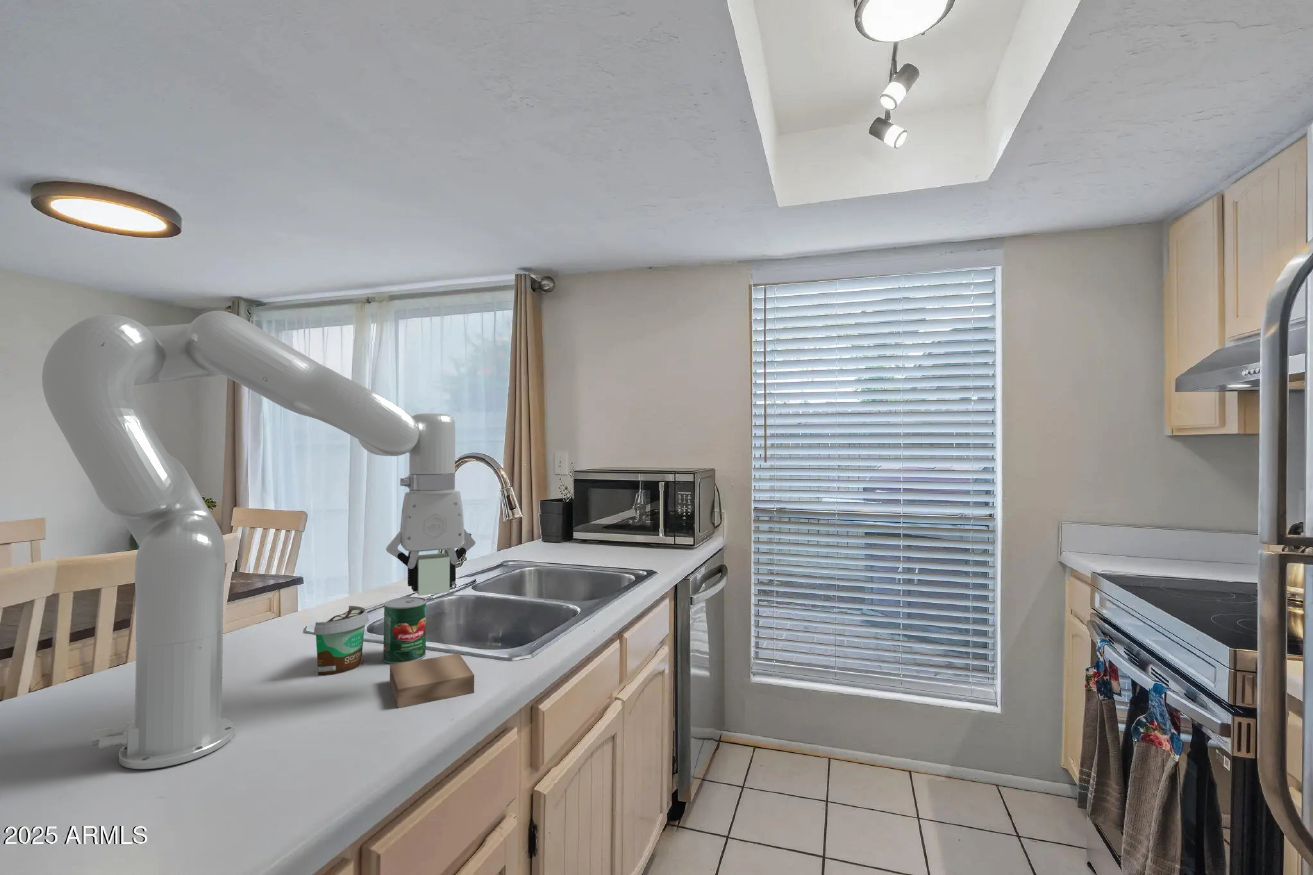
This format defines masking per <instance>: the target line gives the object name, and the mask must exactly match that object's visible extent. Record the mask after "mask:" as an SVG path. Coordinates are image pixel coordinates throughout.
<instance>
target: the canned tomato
mask: <svg viewBox="0 0 1313 875" xmlns="http://www.w3.org/2000/svg"><path fill="white" fill-rule="evenodd" d="M427 600H428V599H426V598H425V597H423V596H421V597H420V596H404V597H397V598H393V599H390V600H386V601H385V602H384V603H383V608H384V611H383V650H382V651H383V652H382V653H383V657H382V660H383V662H384V663H386V664H389V665H393V664H399V663H405V662H411V661H417V660H423V658H425V657H426V656H427V652H426V651H427V602H428V601H427Z"/></svg>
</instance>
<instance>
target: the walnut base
mask: <svg viewBox="0 0 1313 875" xmlns="http://www.w3.org/2000/svg"><path fill="white" fill-rule="evenodd" d="M389 683H390V687H391V690H392V694H393V696H394V700H395V703H396V705H397V709H401V708H405V707H410V706H415V705H420V704H424V703H425V704H426V703H430V702H435V701H439V700H444V699H449V698H453V697H454V698H455V697H460V696H465V695H468V694H470V695H471V694H475V674H474V673H473V671H472V670H471V668H470V667H469V665H468V664H467V663H466V661H465V660H464V658H463V656H462V655H461V653H454V654H449V655H442V656H435V657H430V658H425V659H423V658H422V659H421V660H417V661H411V662H405V663H399V664H389Z"/></svg>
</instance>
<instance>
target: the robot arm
mask: <svg viewBox="0 0 1313 875" xmlns="http://www.w3.org/2000/svg"><path fill="white" fill-rule="evenodd" d="M217 376H219V377H220V376H224V377H226V378H228V379H229V380H232V381H234V382H236V383H237V384H239V385H241V386H243V387H245V388H247V389H249V390H250V391H252V392H254V393H256V394H258V395H259V396H262V397H263V398H264V399H265V398H266V399H268V400H269V401H271V402H273V403H275V404H276V405H277V406H280V407H281V408H284V409H285V410H288V411H291V412H293V413H295V414H298V415H301V416H304V417H307V418H308V417H309V418H311V419H315V420H318V421H321V422H323V423H325V424H327V425H330V426H332V427H334V428H336V429H338V430H340V431H343V432H344V433H347V434H348V435H349V436H352V437H353V438H355V439H357V441H358V443H359V444H360V445H361V447H362V448H363V449H364V450H365V451H367V452H368V453H370V454H373V455H376V456H382V457H383V456H385V457H399V456H403V455H405V454H407V453H408V455H409V456H408V457H409V460H408V461H409V464H408V466H409V467H408V469H409V470H408V473H409V474H408V475H407V477H404V478H403V477H402V478H400V479H399V486H400V487H405V488H406V487H407V488H408V491H407V492H405V493H404V497H403V502H402V507H401V514H400V515H401V518H400V530H399V532H397V534H395V536H394V538H393V539H392V540H391V541H390V542H389V543H388V545H387V546H386V547H385V550H386V553H388V554H390V555H392V556H393V557H394V558H396V559H398V560H399V561H400V562H401V563H402V564H404V566H406V567H407V587H411V590H412V592H414V593H415V592H417V591H418V568H417V564H416V561H417V558H418V555H420V552H430V551H431V552H432V551H443V550H444V552H445V554H446V555H447V556H449V557H450V589H451V588H453V582H456V573H457V571H456V568H457V567H456V565H457V564H458V563H459V561H460V560H461V558H463V556H464V555H465V554H466V552H468V551H469V550H471V548H473V547H474V546H475V544H476V541H475V540H474V538H473V537H472V536H471V535H470V533H468V531H467V530H466V529H465V526H464V525H465V524H464V523H465V522H464V510H463V502H462V496H461V491H460V490H456V421H455V419H454V417H453V416H451V415H450V414H446V413H416V414H413V415H411V414H410V413H409V412H407V411H406V410H404V409H403V408H401V407H399V405H396V404H395V403H393V402H391V401H390V400H388V399H387V398H384V397H383V396H381V395H380V394H378V393H376V392H374V391H373V390H371V389H370V388H368V387H366V386H363V385H362V384H360V383H357V382H356V381H354V380H351V379H350V378H348V377H346V376H344V375H342V374H340V373H339V372H336V371H335V370H333V369H331V368H329V367H327V366H325V365H324V364H322V363H319V362H318V361H316V360H314V359H312V358H310V357H309V356H307V355H305V354H303V352H301V351H299V350H297V349H295V348H293V347H292V346H290V345H288V344H286V343H285V342H283V341H282V340H281V339H278V338H276V336H274V335H272V334H270V333H269V332H267V331H265V330H264V329H262V328H260V327H258V326H257V325H255V324H253V323H252V322H250V321H248V320H247V319H245V318H243V317H241V316H239V315H237V314H235V313H231V312H229V311H226V310H225V311H224V310H212V311H207V312H205V313H202V314H200V315H198V316H197V317H196V318H195V319H194V320H193V321H192V322H190V323H183V324H169V325H153V326H150V325H149V326H145V325H143V324H142V323H140V322H139V321H137V320H135V319H132V318H130V317H127V316H123V315H119V314H111V313H109V314H108V313H106V314H105V313H104V314H103V313H102V314H96V315H92V316H89V317H86V318H84V319H82V320H79V321H78V322H76V323H74V324H73V325H71V326H70V327H69V328H68V329H66V330H64V332H63V333H62V334H61V335H59V337H58V338H57V339H56V340H55V341H54V343H53V344H52V345H51V347H50V349H49V350H48V352H47V354H46V357H45V359H44V362H43V366H42V373H41V384H42V385H41V386H42V390H43V391H42V392H43V396H44V398H45V402H46V404H47V407H48V409H49V410H50V414H51V415H52V416H53V419H54V421H55V422H56V424H57V426H58V427H59V429H60V431H61V433H62V435H63V436H64V438H65V440H66V442H67V443H68V445H69V447H70V449H71V451H72V453H73V455H74V456H75V458H76V459H77V461H78V463H79V465H80V467H81V468H82V469H83V472H84V473H85V475H86V477H87V478H88V481H90V483H91V486H92V487H93V489H94V491H95V493H96V496H97V498H98V499H99V501H100V503H101V504H102V505H103V506H104V507H105V509H107V510H108V511H110V512H111V513H112V514H115V515H117V516H119V517H120V518H121V519H122V520H123V523H124V524H125V526H126V527H127V529H128V531H129V532H130V534H131V535H132V537H133V538H134V540H135V542H136V544H137V545H138V546H139V547H138V548H137V553H136V556H135V561H134V563H135V564H134V584H135V585H134V586H135V588H134V589H135V680H134V681H135V686H134V687H135V690H134V691H135V693H134V696H135V697H134V719H133V720H132V721H127V722H124V725H120V726H115V727H112V726H109V727H106V728H105V727H104V728H100V729H99V728H98V729H94V730H93V732H92V735H91V736H92V737H91V745H92V746H97V745H98V750H104V749H105V750H106V749H109V748H113V747H117V746H122V747H121V748H120V750H119V751H118V763H119V764H120V765H121V766H122V767H124V768H128V769H133V770H153V769H154V770H155V769H160V768H166V767H171V766H175V765H180V764H183V763H186V762H190V761H194V760H196V759H199V758H201V757H203V756H206V755H208V754H211V753H213V752H214V751H216V750H219V749H220V748H222V747H223V746H225V745H226V744H227V743H229V741H231V739H232V738H233V737H234V736H235V732H236V730H235V729H236V728H235V727H236V726H235V723H234V721H232V720H231V719H229V718H224V717H223V716H222V715H223V714H222V713H223V712H222V710H223V661H224V660H223V656H224V655H223V653H224V652H223V649H224V648H223V647H224V645H223V644H224V639H223V638H224V590H225V586H224V585H225V572H226V571H225V569H226V548H225V540H224V536H223V532H222V530H221V529H220V527H219V524H217V523H218V522H217V521H216V520H215V518H214V517H213V515H212V513H211V511H210V510H209V508H208V506H207V504H206V503H205V501H204V499H203V497H202V495H201V494H200V492H199V491H198V489H197V486H196V485H195V483H194V481H193V480H192V478H191V477H190V474H189V473H188V471H187V469H186V468H185V466H184V465H183V464H182V463H181V461H179V460H178V459H177V458H176V457H174V456H173V455H171V454H169V452H168V450H167V449H166V448H165V446H164V444H163V443H162V441H161V440H160V438H159V437H158V435H157V433H156V431H155V429H154V428H153V426H152V425H151V422H150V419H149V417H148V416H147V414H146V412H145V411H144V409H143V408H142V405H141V404H140V402H139V400H138V398H137V397H136V393H135V386H141V385H142V386H143V385H150V384H160V383H161V384H162V383H169V382H177V381H186V380H195V379H196V380H197V379H205V378H210V377H211V378H212V377H217ZM399 546H401V547H402V548H403V549H404V551H406V552H408V553H407V554H405V553H404V552H403V551H401V550H400V549H399Z"/></svg>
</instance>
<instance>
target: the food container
mask: <svg viewBox="0 0 1313 875" xmlns="http://www.w3.org/2000/svg"><path fill="white" fill-rule="evenodd" d="M369 620H370V619H369V616H368V612H367V610H366V608H365V607H363V606H358V605H348V610H347V611H345V612H343V613H341V614H337V615H334V616H332V617H330V619H328V620H327V621H323V622H319V621H317V622H315V626H314V629H313V630H314V631H313V635H315V643H316V662H317V663H316V664H317V666H316V667H317V677H321V676H324V677H325V676H333V675H337V674H338V675H339V674H344V673H347V672H350V671H353V670H354V669H356V668H359V666H361V664H362V658H363V648H364V646H363V645H364V637H365V626H366V625H367V624H368V623H369Z"/></svg>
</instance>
